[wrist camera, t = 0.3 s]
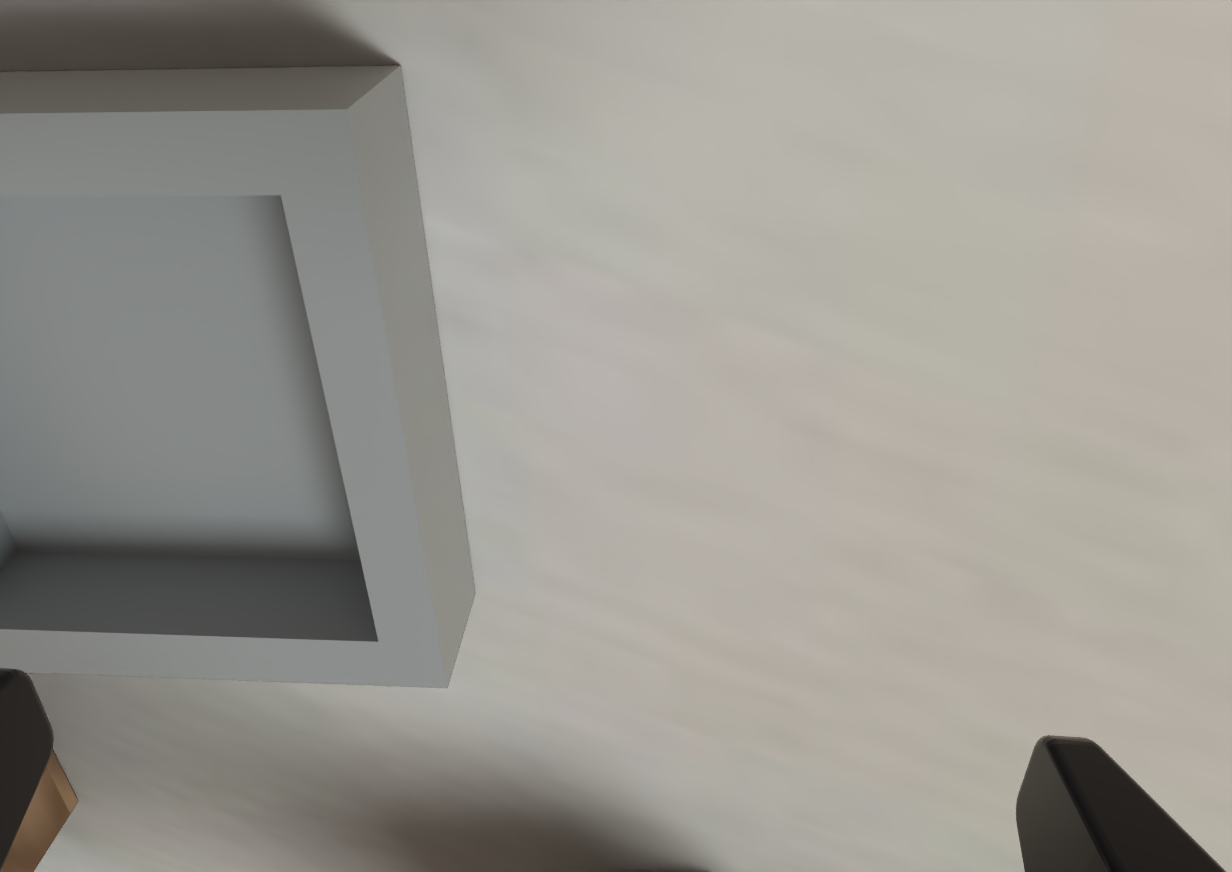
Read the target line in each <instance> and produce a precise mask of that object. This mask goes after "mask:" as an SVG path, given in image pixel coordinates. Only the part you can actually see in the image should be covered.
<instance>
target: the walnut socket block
mask: <svg viewBox="0 0 1232 872" xmlns="http://www.w3.org/2000/svg"><path fill="white" fill-rule="evenodd" d="M77 803H78V800H77V798H76V796H75V794H74V792H73V790H72V788H71V786H70V784H69V782H68V780H67V778H66V776H65V774H64V772H63V770H62V768H61V766H60V764H59V762H58V760H57V758H56V756H55V754H54V752H53V750H52V752H51V756H50V759H49V761H48V764H47V766H46V768H45V770H44V773H43V775H42V777H41V780H40V782H39V784H38V786H37V789H36V791H35V793H34V796H33V798H32V800H31V802H30V805H29V807H28V809H27V812H26V814H25V816H24V818H23V821H22V823H21V825H20V828H19V830H18V832H17V834H16V837H15V839H14V841H13V844H12V846H11V848H10V850H9V853H8V855H7V857H6V860H5V862H4V864H3V866H2V869H1V871H0V872H34V870H35V869H36V867H37V866H38V864H39V862H40V861H41V859H42V858H43V856H44V855H45V853H46V851H47V850H48V848H49V847H50V845H51V844H52V842H53V841H54V839H55V837H56V836H57V834H58V833H59V831H60V830H61V828H62V826H63V825H64V823H65V822H66V820H67V819H68V817H69V815H70V814H71V812H72V811H73V809H74V808H75V806H76V804H77Z"/></svg>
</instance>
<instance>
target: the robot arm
mask: <svg viewBox="0 0 1232 872" xmlns="http://www.w3.org/2000/svg"><path fill="white" fill-rule="evenodd" d="M52 748H53V730H52V727H51V724H50V722H49V720H48V717H47V715H46V713H45V710H44V708H43V706H42V703H41V701H40V699H39V697H38V694H37V692H36V690H35V687H34V685H33V683H32V681H31V679H30V677H29V676H28V675H27V674H26V673H24V672H23V671H22V670H18V669H9V668H0V871H1V869H2V866H3V864H4V862H5V860H6V857H7V855H8V853H9V850H10V848H11V846H12V844H13V841H14V839H15V837H16V834H17V832H18V830H19V828H20V825H21V823H22V821H23V818H24V816H25V814H26V812H27V809H28V807H29V805H30V802H31V800H32V798H33V796H34V793H35V791H36V789H37V786H38V784H39V782H40V780H41V777H42V775H43V773H44V770H45V768H46V766H47V764H48V761H49V759H50V756H51V752H52ZM1016 821H1017V828H1018V834H1019V840H1020V846H1021V852H1022V858H1023V863H1024V869H1025V872H1226V871H1225V870H1224V869H1223V868H1222V867H1221V866H1220V865H1219V864H1218V863H1217V862H1216V861H1215V860H1214V859H1213V858H1212V857H1211V856H1210V855H1209V854H1208V853H1207V852H1206V851H1205V850H1204V849H1203V848H1202V847H1201V846H1200V845H1199V844H1198V843H1197V842H1196V841H1195V840H1194V839H1193V838H1192V837H1191V836H1190V835H1189V834H1188V833H1187V832H1186V831H1185V830H1184V829H1183V828H1182V827H1181V826H1180V825H1179V824H1178V823H1177V822H1176V821H1175V820H1174V819H1173V818H1172V817H1171V816H1170V815H1169V814H1168V813H1167V812H1166V811H1165V810H1164V809H1163V808H1162V807H1161V806H1160V805H1159V804H1158V803H1157V802H1156V801H1155V800H1154V799H1153V798H1151V797H1150V796H1149V795H1148V794H1147V793H1146V792H1145V791H1144V790H1143V789H1142V788H1141V787H1140V786H1139V785H1138V784H1137V783H1136V782H1135V781H1134V780H1133V779H1132V778H1131V777H1130V776H1129V775H1128V774H1127V773H1126V772H1125V771H1124V770H1123V769H1122V768H1121V767H1120V766H1119V765H1118V764H1117V763H1116V762H1115V761H1114V760H1113V759H1112V758H1111V757H1110V756H1109V755H1108V754H1107V753H1106V752H1105V751H1104V750H1103V749H1102V748H1101V747H1100V746H1099V745H1098V744H1096V743H1095V742H1093V741H1092V740H1089V739H1087V738H1081V737H1066V736H1050V735H1048V736H1043V737H1042V738H1040V739H1039V740H1038V741H1037V743H1036V745H1035V747H1034V750H1033V753H1032V756H1031V758H1030V761H1029V764H1028V767H1027V770H1026V773H1025V776H1024V779H1023V782H1022V785H1021V788H1020V791H1019V794H1018V798H1017V804H1016Z"/></svg>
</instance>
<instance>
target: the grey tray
mask: <svg viewBox="0 0 1232 872" xmlns="http://www.w3.org/2000/svg"><path fill="white" fill-rule="evenodd" d="M475 594H476V593H475V586H474V579H473V572H472V565H471V558H470V551H469V544H468V537H467V530H466V523H465V516H464V509H463V502H462V494H461V487H460V480H459V473H458V466H457V459H456V452H455V445H454V438H453V431H452V424H451V417H450V410H449V403H448V396H447V389H446V381H445V374H444V367H443V360H442V353H441V346H440V339H439V332H438V325H437V318H436V311H435V304H434V297H433V290H432V283H431V276H430V269H429V261H428V254H427V247H426V240H425V233H424V226H423V219H422V212H421V205H420V198H419V191H418V184H417V177H416V170H415V163H414V156H413V148H412V141H411V134H410V127H409V120H408V113H407V106H406V99H405V92H404V85H403V78H402V71H401V65H397V66H335V67H274V68H212V69H150V70H89V71H27V72H0V668H9V669H18V670H22V671H23V672H25V673H52V674H78V675H105V676H132V677H159V678H186V679H212V680H239V681H266V682H293V683H320V684H346V685H373V686H400V687H427V688H448V685H449V681H450V678H451V675H452V671H453V668H454V664H455V661H456V658H457V654H458V651H459V648H460V644H461V641H462V638H463V634H464V631H465V627H466V624H467V621H468V617H469V614H470V611H471V607H472V604H473V600H474V597H475Z"/></svg>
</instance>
